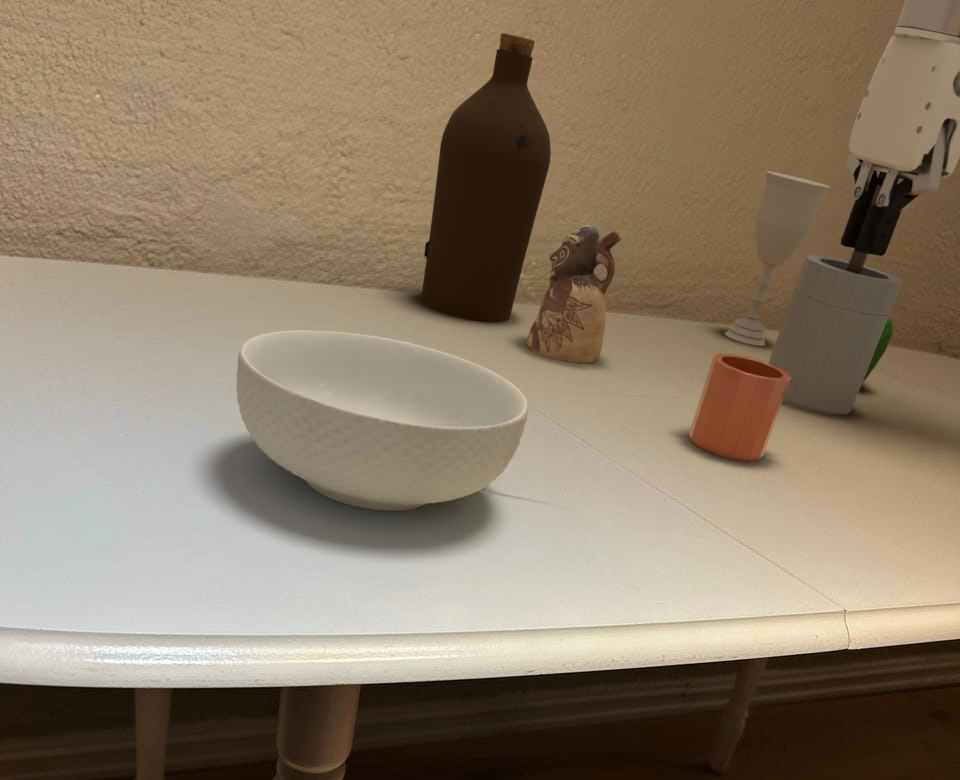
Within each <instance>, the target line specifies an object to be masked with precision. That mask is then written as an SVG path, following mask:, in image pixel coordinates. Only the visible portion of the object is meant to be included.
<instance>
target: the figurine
mask: <svg viewBox="0 0 960 780" xmlns="http://www.w3.org/2000/svg"><path fill="white" fill-rule="evenodd" d="M621 240H622V238H621V236H620V233H619V231H618V230H613V231H611V232H610V233H608V234H606V235H605V236H603V237H602V238H600V232H599V230H598V228H597V226H595V225H593V224H584V225H581V226H579V227H577V228H576V229H574V230H573V231H571V232H570V233H568V234H567V235H566V236H565V237H564V239H563V240H562V242H561V244H560V247H559V248H558V249H556V251H554V252H553V253H552V254H551V255H550V256H549V260H550V262H551V269H550V272H549V276H548V279H549V283H550V285H549V287H548V289H547V290H546V292H545V294H544V296H543V299H542V301H541V304H540V307H539V310H538V312H537V314H536V317H535V319H534V321H533V323H532V325H531V326H530V329H529V332H528V336H527V340H526V345H527V346H528V347H529V348H530V350H531V351H533V352H535V353H536V354H540V355H542V356H545V357H548V358H551V359H555V360H558V361H563V362H568V363H575V364H592V363H596V362H597V361H598V360H599V358H600V355H601V352H602V349H603V343H604V338H605V337H604V336H605V329H606V314H607V313H606V311H607V299H606V292H607V291H608V288H609V286H610V284H611V283H612V282H613V278H614V275H615V269H616V268H615V267H616V264H615V258H614V256H613V254H612V252H611V249H612V248H614V246H616V245H617V244H618V243H619V242H621ZM599 265H602V266H604V267H605V268H606V277H605V279H603V280H601V279H600V278H599V277H598V276H597V274H595V273H594V272H595V269H596V268H597V266H599Z"/></svg>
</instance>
